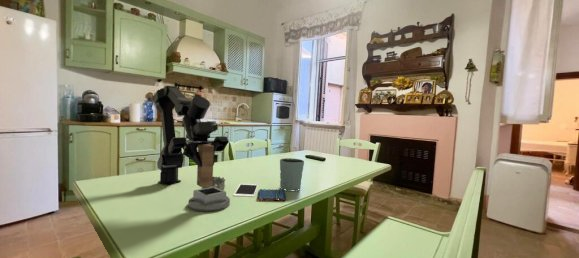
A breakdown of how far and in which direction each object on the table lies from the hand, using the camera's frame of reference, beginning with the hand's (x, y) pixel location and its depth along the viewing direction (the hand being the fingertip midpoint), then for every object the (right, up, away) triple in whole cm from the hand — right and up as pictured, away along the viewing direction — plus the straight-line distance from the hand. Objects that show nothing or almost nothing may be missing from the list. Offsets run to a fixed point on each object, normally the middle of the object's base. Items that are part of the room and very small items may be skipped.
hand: (207, 165), depth 81 cm
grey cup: (+27, -14, +27) cm, 40 cm away
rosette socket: (0, -13, +3) cm, 14 cm away
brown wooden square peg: (-1, -6, +1) cm, 7 cm away
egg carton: (-4, -12, +23) cm, 27 cm away
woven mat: (+19, -14, +15) cm, 28 cm away
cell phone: (+9, -13, +21) cm, 27 cm away
